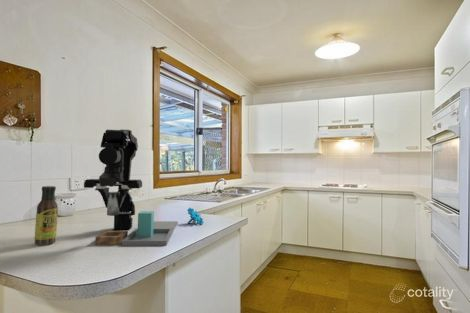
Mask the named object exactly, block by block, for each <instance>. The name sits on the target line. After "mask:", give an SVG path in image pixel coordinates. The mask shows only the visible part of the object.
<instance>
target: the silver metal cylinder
mask: <svg viewBox="0 0 470 313" xmlns="http://www.w3.org/2000/svg"><path fill="white" fill-rule="evenodd" d="M119 195H120V192H117V191H109V192H108V198H107V208H106V216H109V217H114V216H115V215H119Z"/></svg>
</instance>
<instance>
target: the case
mask: <svg viewBox="0 0 470 313" xmlns="http://www.w3.org/2000/svg"><path fill="white" fill-rule="evenodd" d="M178 223H179V222H178V221H177V220H175V221H171V220H170V221H168V220H167V221H166V220H164V221H163V220H160V221H159V220H158V221H157V220H156V221H155V220H154V229H153V235H152V236H151V237H137V234H138V227H136V228H134V229H133V230H132V231H131V232H130V233H128V236H127V237H126V238H125V239H124V240H123V241H122V244H121V246H122V247H147V246H151V247H155V246H156V247H158V246H160V247H163V246H168V243H169V241H170V240H171V237H172V235H173V234H174V231H175V229H176V227H177V225H178Z"/></svg>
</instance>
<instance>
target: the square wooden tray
mask: <svg viewBox="0 0 470 313" xmlns="http://www.w3.org/2000/svg"><path fill="white" fill-rule="evenodd" d="M128 231H129V230H128ZM128 231H113V230H104V231H102V232H101V233H99V234H98V235H97V236H95V239H94V240H95V243H94V245H95V246H117V245H118V246H122V241H123V240H124V239H125V238H126V237H127V236H128V235H129V232H128Z"/></svg>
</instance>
